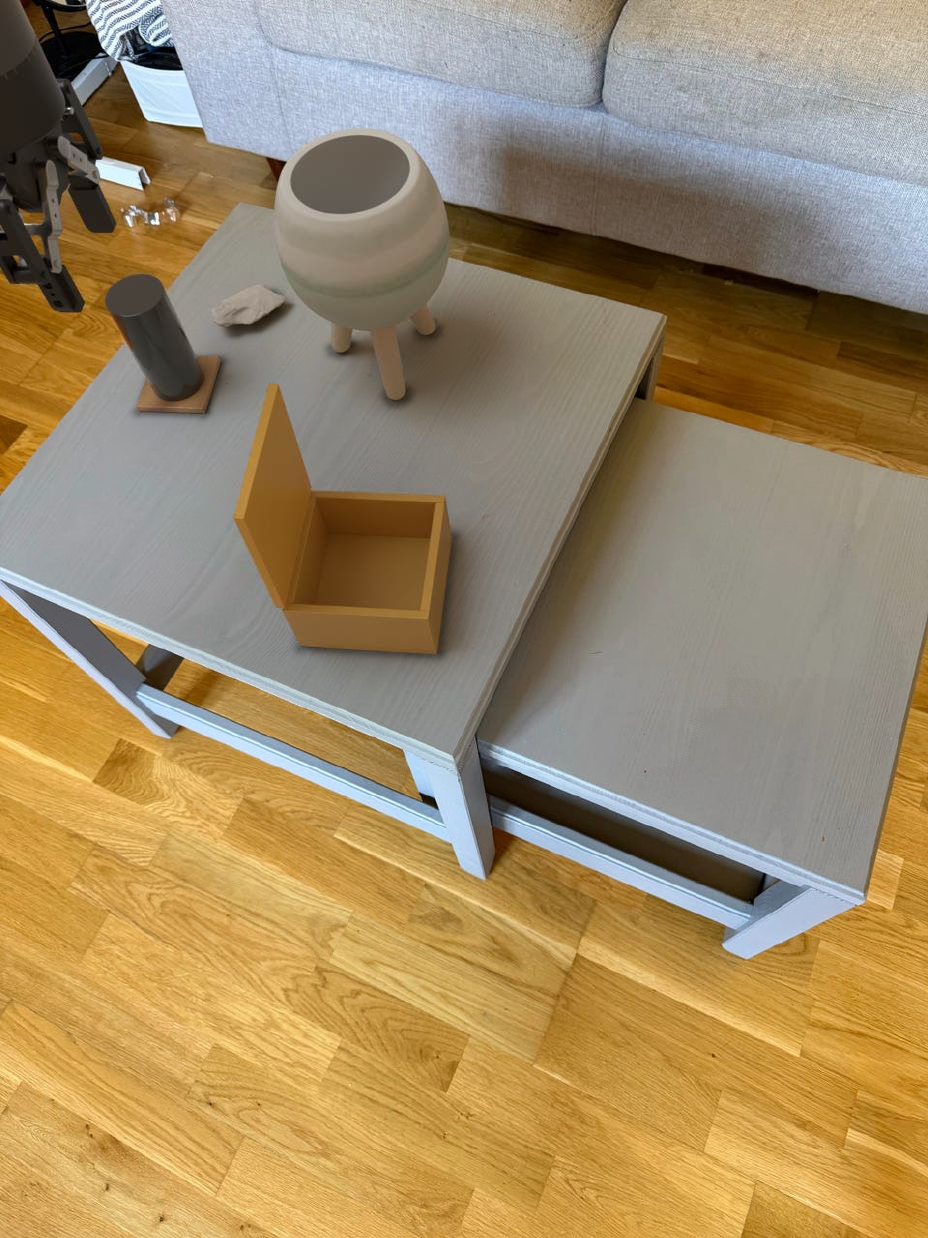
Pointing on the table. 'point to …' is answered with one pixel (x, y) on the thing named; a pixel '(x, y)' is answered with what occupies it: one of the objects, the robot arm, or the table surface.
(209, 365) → the pad
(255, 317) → the decorative stone
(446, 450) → the table surface
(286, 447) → the lid
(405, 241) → the planter
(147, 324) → the dark grey cylinder
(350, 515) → the chest
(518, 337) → the table surface
